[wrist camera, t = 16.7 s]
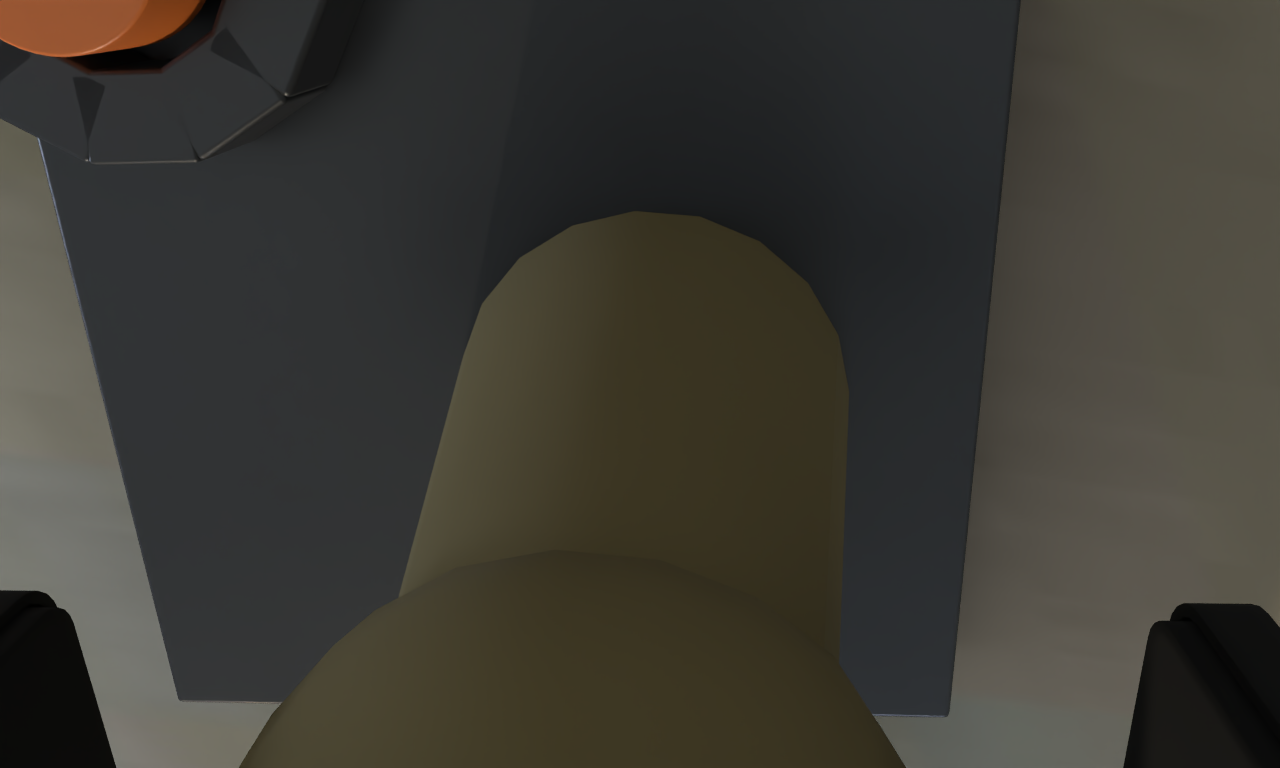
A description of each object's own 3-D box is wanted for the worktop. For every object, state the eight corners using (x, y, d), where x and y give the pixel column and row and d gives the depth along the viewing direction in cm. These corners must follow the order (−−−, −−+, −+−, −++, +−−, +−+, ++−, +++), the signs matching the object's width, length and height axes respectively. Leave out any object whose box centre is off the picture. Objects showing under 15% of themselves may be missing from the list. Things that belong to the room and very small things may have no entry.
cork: (489, 575, 17) (171, 1428, 7) (431, 226, 15) (-145, 760, 5) (851, 561, 17) (1051, 1471, 7) (846, 195, 15) (1135, 732, 4)
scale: (-10, -288, 15) (-215, -356, 12) (1018, -348, 14) (1110, -441, 10) (206, 640, 21) (112, 765, 18) (929, 651, 20) (970, 787, 16)
